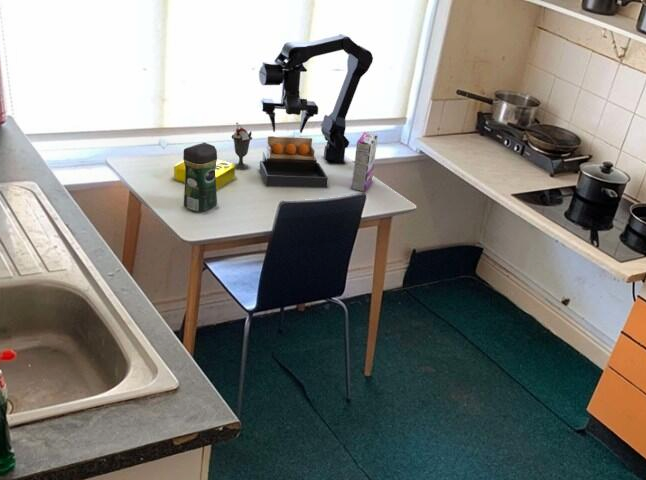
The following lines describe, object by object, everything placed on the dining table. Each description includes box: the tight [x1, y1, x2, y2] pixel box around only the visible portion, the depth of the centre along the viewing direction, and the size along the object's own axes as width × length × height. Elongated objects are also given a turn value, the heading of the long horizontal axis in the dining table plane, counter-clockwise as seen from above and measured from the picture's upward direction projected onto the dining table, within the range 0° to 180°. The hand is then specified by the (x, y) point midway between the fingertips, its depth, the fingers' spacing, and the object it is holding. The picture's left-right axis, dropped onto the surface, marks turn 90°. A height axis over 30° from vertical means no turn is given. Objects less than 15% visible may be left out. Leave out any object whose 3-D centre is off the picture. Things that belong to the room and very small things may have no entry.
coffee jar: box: [182, 142, 218, 213], centre depth 221 cm, size 10×8×19 cm
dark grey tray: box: [259, 160, 329, 189], centre depth 254 cm, size 20×13×4 cm, turn 107°
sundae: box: [231, 122, 253, 171], centre depth 252 cm, size 7×7×15 cm
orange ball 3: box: [298, 144, 309, 155], centre depth 256 cm, size 4×4×4 cm
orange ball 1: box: [272, 143, 283, 154], centre depth 254 cm, size 4×4×4 cm
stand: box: [262, 150, 318, 163], centre depth 258 cm, size 17×7×6 cm, turn 107°
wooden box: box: [266, 135, 315, 160], centre depth 254 cm, size 15×6×6 cm, turn 107°
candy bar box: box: [351, 131, 379, 193], centre depth 254 cm, size 11×5×16 cm, turn 168°
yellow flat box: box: [173, 159, 236, 190], centre depth 243 cm, size 15×15×5 cm
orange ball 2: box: [286, 144, 296, 154], centre depth 255 cm, size 4×4×4 cm
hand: (287, 132), depth 259 cm, fingers open, 9 cm apart
